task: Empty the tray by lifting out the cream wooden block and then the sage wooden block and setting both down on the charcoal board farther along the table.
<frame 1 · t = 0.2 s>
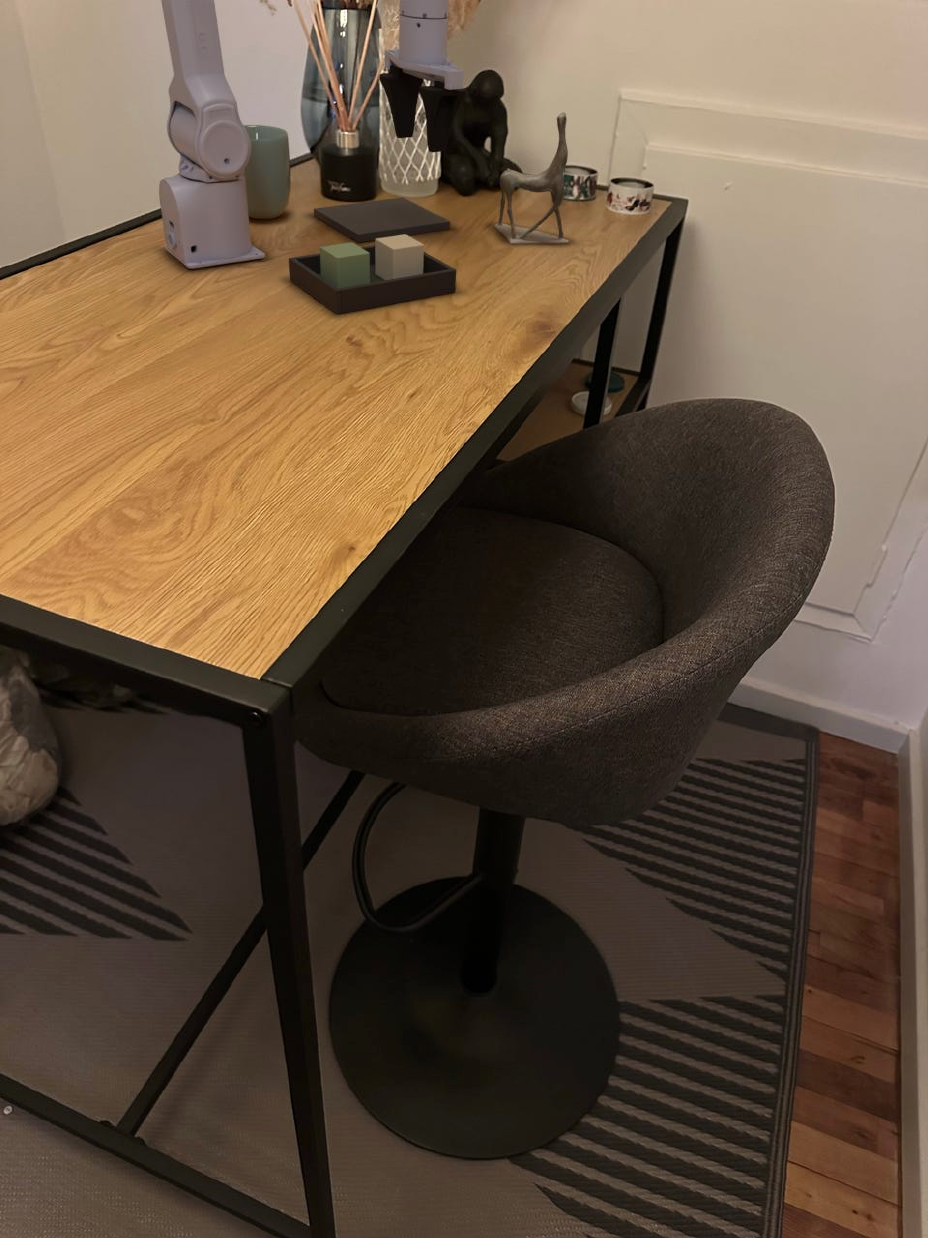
hand: (420, 143, 114), 10 cm above the table, tool pointing down, fingers open, 7 cm apart
sage block: (345, 286, 101), resting on tray
cup: (263, 216, 121), on the table
tray: (372, 286, 103), on the table
board: (381, 222, 121), on the table
cream block: (399, 277, 104), resting on tray
figurine: (523, 239, 120), on the table
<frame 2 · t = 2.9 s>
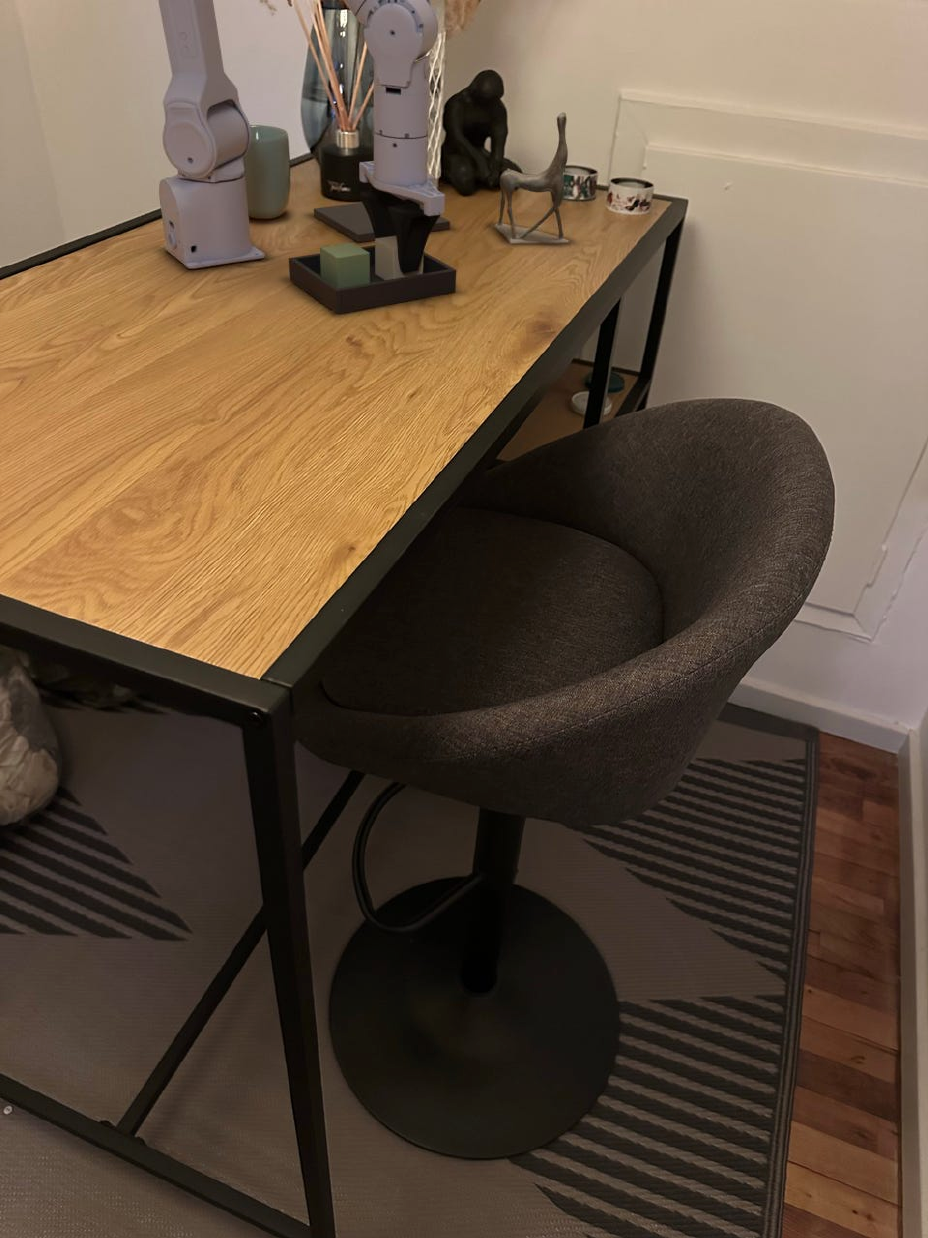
hand: (399, 264, 103), 2 cm above the table, tool pointing down, fingers closed on cream block, 4 cm apart
cream block: (398, 277, 104), resting on tray, touching gripper
everything else where it was.
when the fingers open (2 cm above the table, at t = 7.3 s): cream block stays where it is, resting on board.
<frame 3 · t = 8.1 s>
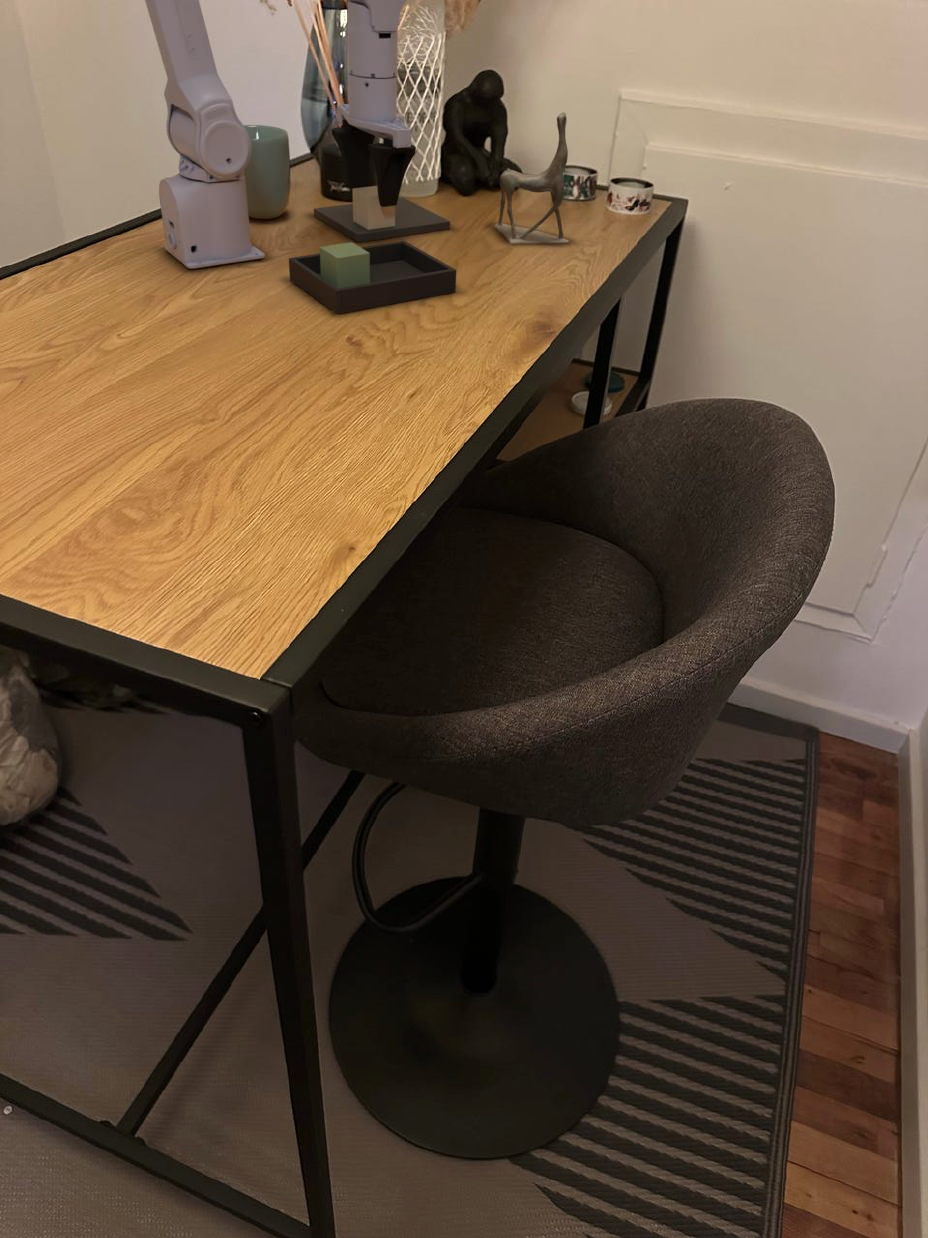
hand: (372, 197, 115), 4 cm above the table, tool pointing down, fingers open, 7 cm apart
cream block: (374, 223, 117), point 1 cm above the table, touching board
everything else where it was.
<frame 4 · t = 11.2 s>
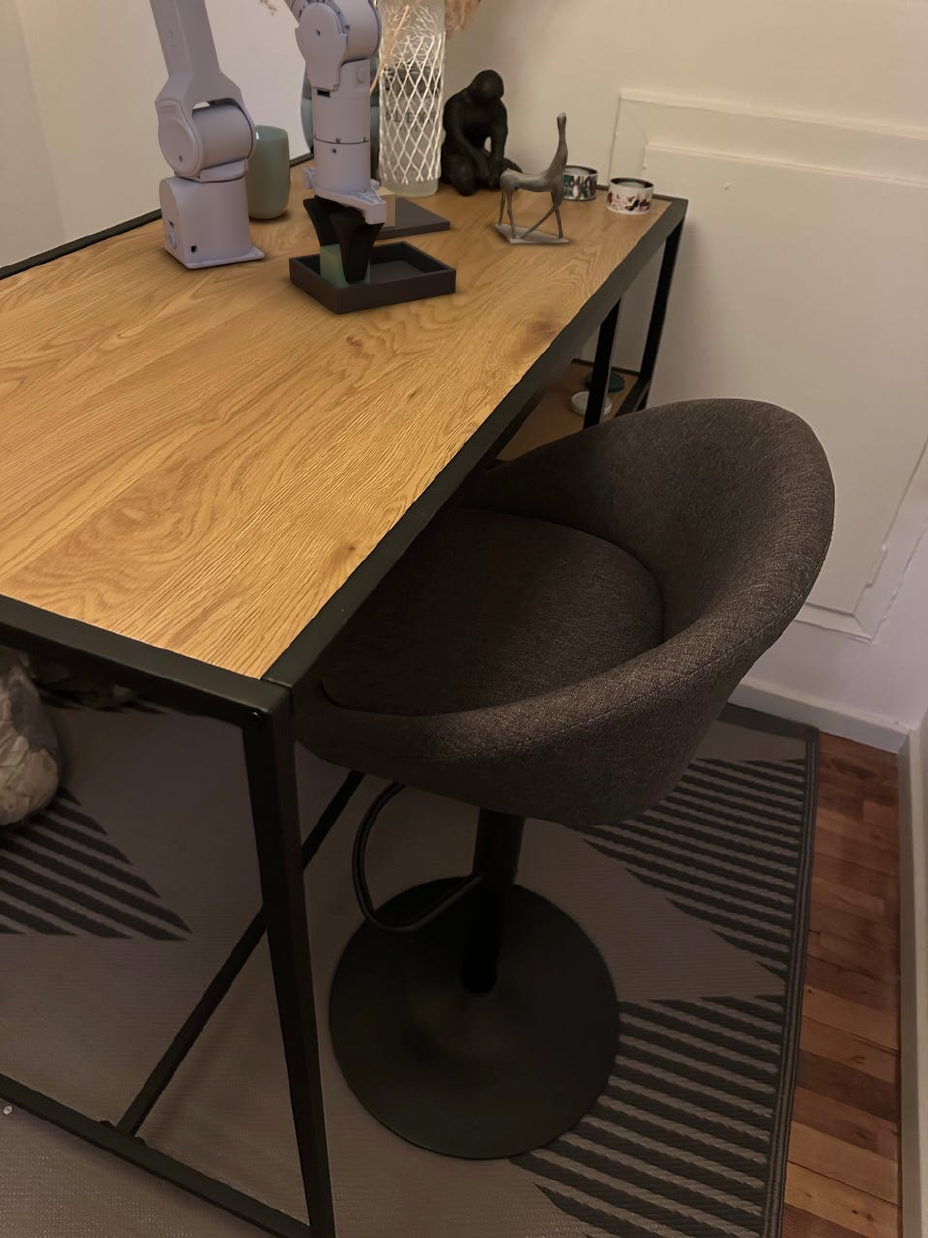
hand: (345, 273, 100), 2 cm above the table, tool pointing down, fingers closed on sage block, 4 cm apart
sage block: (345, 286, 101), resting on tray, touching gripper
everything else where it was.
when the fingers open (2 cm above the table, at t = 16.4 s): sage block stays where it is, resting on board.
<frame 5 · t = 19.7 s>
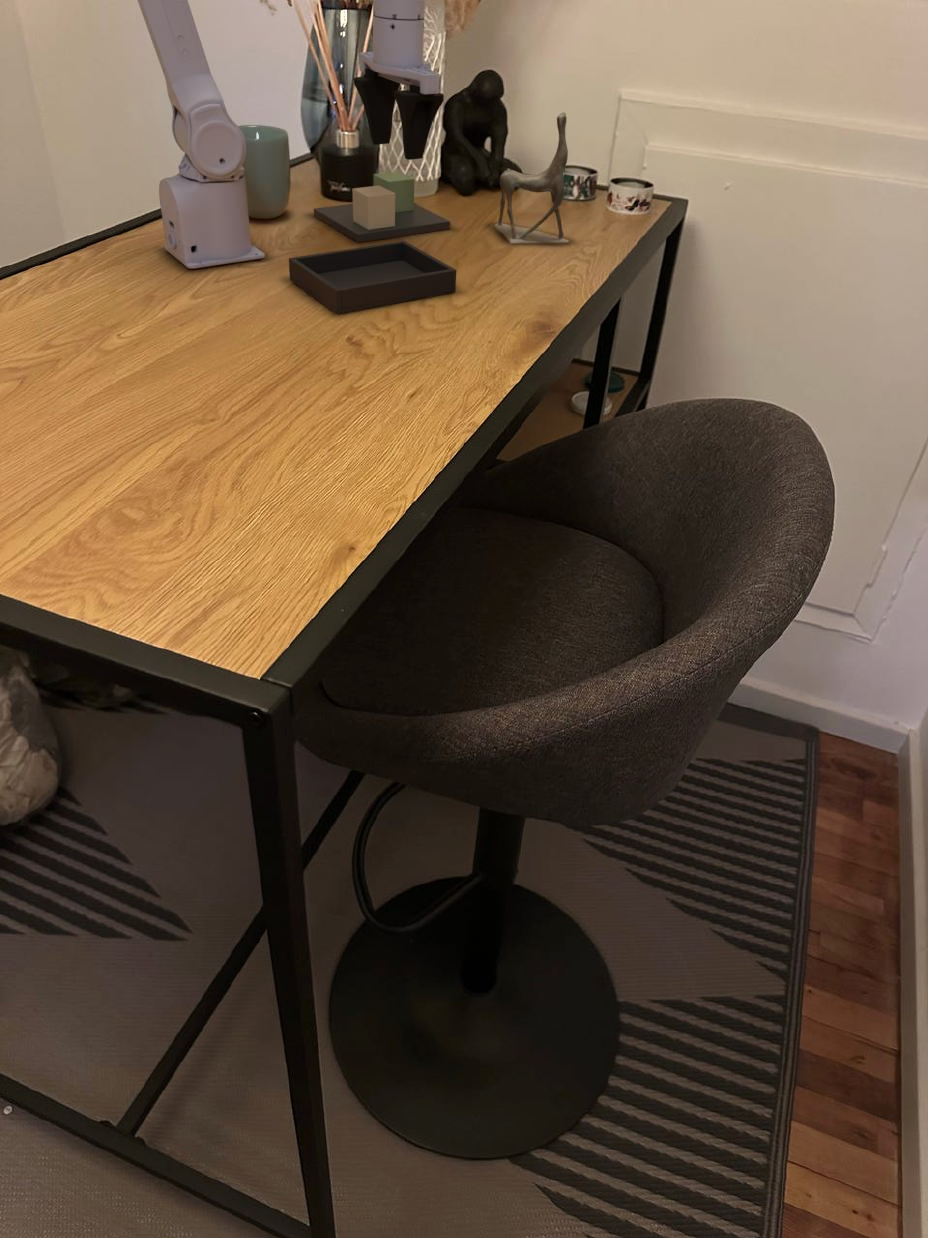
hand: (397, 150, 109), 10 cm above the table, tool pointing down, fingers open, 7 cm apart
sage block: (393, 207, 123), point 1 cm above the table, touching board
everything else where it was.
at the end: cream block inside the target area on the board (4.2 cm from its centre), point 1.0 cm above the board's base; sage block inside the target area on the board (3.7 cm from its centre), point 1.0 cm above the board's base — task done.
